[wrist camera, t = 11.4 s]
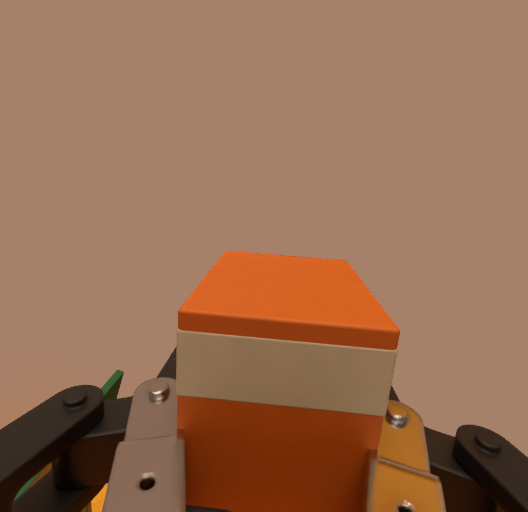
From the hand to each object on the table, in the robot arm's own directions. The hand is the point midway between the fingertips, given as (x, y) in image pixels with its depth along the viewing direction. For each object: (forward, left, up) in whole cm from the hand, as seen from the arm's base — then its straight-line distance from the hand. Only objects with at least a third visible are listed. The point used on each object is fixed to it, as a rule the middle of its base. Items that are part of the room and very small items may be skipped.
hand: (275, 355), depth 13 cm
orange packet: (+2, +2, -6) cm, 7 cm away
